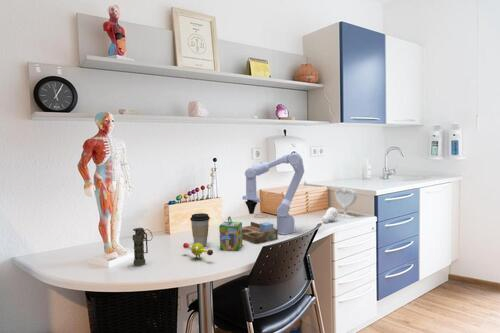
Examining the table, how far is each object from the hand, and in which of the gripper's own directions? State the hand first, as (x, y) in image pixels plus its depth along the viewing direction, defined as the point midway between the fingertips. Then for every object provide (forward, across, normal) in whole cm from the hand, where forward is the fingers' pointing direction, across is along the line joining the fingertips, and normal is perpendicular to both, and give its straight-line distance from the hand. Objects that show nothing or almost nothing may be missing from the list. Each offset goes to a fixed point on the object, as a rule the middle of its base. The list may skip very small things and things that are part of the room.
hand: (251, 213), depth 191 cm
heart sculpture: (+10, +7, +72) cm, 73 cm away
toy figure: (+10, +22, -45) cm, 51 cm away
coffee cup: (+10, +6, -35) cm, 37 cm away
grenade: (+10, +14, -66) cm, 68 cm away
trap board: (+10, +10, -6) cm, 15 cm away
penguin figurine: (+10, +12, +50) cm, 52 cm away
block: (+7, +17, -3) cm, 19 cm away
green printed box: (+10, +18, -25) cm, 32 cm away
